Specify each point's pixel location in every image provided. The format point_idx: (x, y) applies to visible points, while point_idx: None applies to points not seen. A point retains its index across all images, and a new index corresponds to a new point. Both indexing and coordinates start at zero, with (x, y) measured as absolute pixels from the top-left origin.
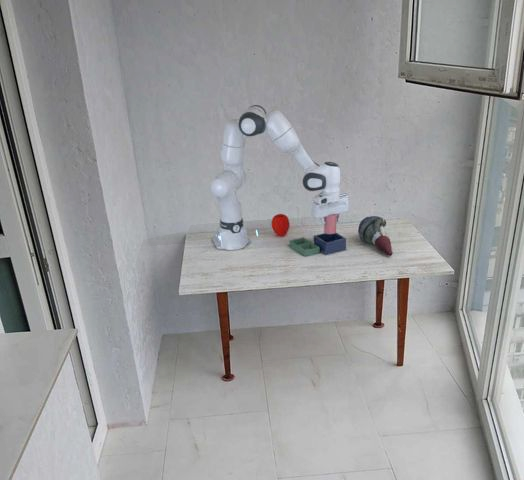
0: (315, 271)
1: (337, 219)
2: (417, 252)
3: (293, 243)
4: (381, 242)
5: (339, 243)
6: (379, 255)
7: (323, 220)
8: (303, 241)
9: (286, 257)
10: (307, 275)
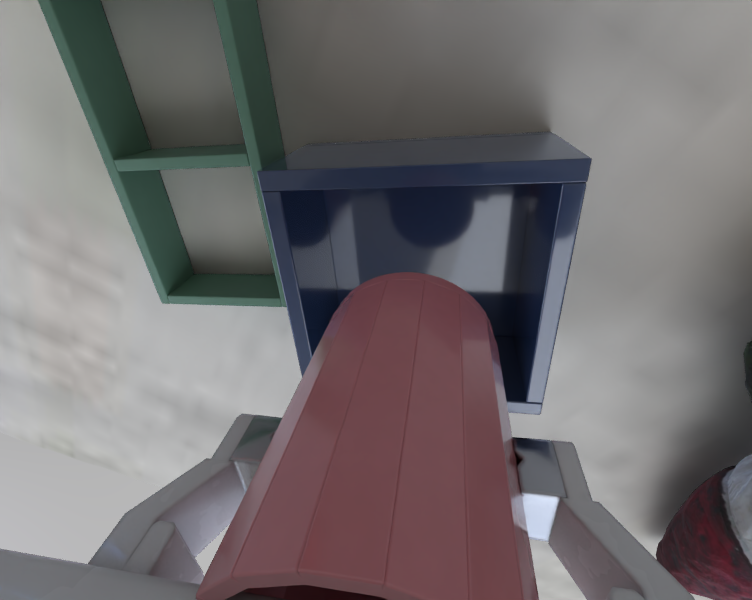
0: (206, 451)
1: (534, 535)
2: None
3: (72, 78)
4: (712, 583)
5: None
6: (640, 497)
7: (206, 536)
8: None
9: (58, 228)
10: (162, 459)
